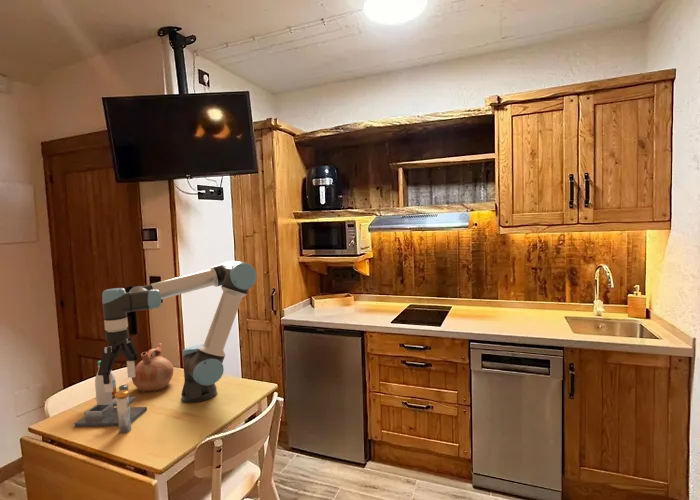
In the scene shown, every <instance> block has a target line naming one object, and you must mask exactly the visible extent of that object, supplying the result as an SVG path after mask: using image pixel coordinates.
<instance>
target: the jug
mask: <svg viewBox="0 0 700 500" xmlns="http://www.w3.org/2000/svg"><path fill="white" fill-rule="evenodd" d="M162 346H163V344H162V342H161V343H160V342H159V343H158V344H157V346H156V347H155V348H150V349H149V350H148V351H144V352H141V354H140V356H141V359H142V360H141V361H139V362H138V363H137V364H136V365H135V375H136V377H131V380H132V383H133V385H134V386H135V388H137V390H139V391H141V392H143V393H145V394H146V393H147V394H148V393H149V394H150V392H151V393H155V392H159V391H160V392H161V391H162V390H165V389H166V388H167V387H168V385H169V384H170V382H171V380H172V379H173V376H174V366H173V364H172V363H171V361H170V360H169V359H167V357H163V355H162V354H163V351H162V350H163V349H162ZM153 354H154V355H153Z"/></svg>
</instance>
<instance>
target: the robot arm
mask: <svg viewBox="0 0 700 500" xmlns="http://www.w3.org/2000/svg"><path fill="white" fill-rule="evenodd" d="M257 278H258V277H257V271H256V269H255V267H254V266H252V264H250V263H248V262H245V261H237V260H229V261H225V262H223V263H220V264H217V265H214V266H210V267H209V268H208V269H206V270H202V271H198V272H195V273H190V274H187V275H183V276H182V275H181V276H179V277H178V276H177V277H173V278H170V279H166V280H161V281H158V282H153V283H150V284H146V285H137V286H134V287H132V288H131V289H130V290H129V291H128V292H127V291H126V289H125V288H124V287H115V288H107V289H105V290H103V291H102V294H101V296H102V299H101V300H102V301H101V302H102V311H103V321H104V331H105V333H104V336H105V342H107V343H108V346H103V347H102V351H101V352H102V354H101V358H100V360H101V362H100V367H98V369H99V371H98V370H97V373H98V375H99V376H101V375H102V376H103V381H104V388H105V392H113V381H112V374H110V373H111V370H112V369H113V366H114V365H115V361H116V359H117V358H118V357H119V355H120V354H122V355H123V356H124V357H125V359H127V360H126V369H127V378H132V377H136V375H135V367H136V364H135V363H136V362H135V361H137V360H138V356H139V354H138V351H137V349H136V347H135V345H134V342H133V337H131V336H129V329H128V328H129V321H128V313H130V312H131V313H132V312H139V311H146V310H148V311H149V310H153V309H157V308H160V307H161V305H162V300H165V299H167V298H171V297H175V296H179V295H182V294H186V293H191V292H193V291H197V290H201V289H204V288H205V289H206V288H209V287H212V286H213V287H216V288H217V287H220V288H221V290H222V293H221V296H220V300H219V302H218V305H217V307H216V310H215V313H214V316H213V319H212V320H211V321H212V322H211V323H210V327H209V329H208V332H207V334H206V335H207V336H206V337H205V340H204V343H203V344H197V345H191V346H188V347H185V348H184V349H183V350H182V362H183V363H182V364H183V377H184V382H183V386H182V389H181V390H182V391H181V395H180V396H181V400H182V401H183V402H185V403H189V404H190V403H193V404H194V403H200V402H204V401H207V400H210V399H212V398H213V397H215V396H216V395H217V392H218V391H217V385H216V383H217V382H219V381H220V380H221V378H222V377H223V374H224V369H225V368H224V364H223V363H224V360H225V357H226V353H225V352H224V349H225V346H226V344H227V340H228V338H229V335H230V332H231V329H232V327H233V324H234V321H235V319H236V316H237V313H238V310H239V307H240V305H241V302H242V299H243V298H244V297H246V296H248V292H249V290H250V289H251V288H252V287H253V286H254V285H255V284H256V282H257ZM112 371H113V370H112Z"/></svg>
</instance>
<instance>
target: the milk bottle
mask: <svg viewBox="0 0 700 500" xmlns="http://www.w3.org/2000/svg"><path fill="white" fill-rule="evenodd" d="M100 362H101V359H100V360H98V361H97V368H98V370H97V372H96V375H95V378H94V379H95V380H94V387H95V398H96V399H95V400H96V404H113V403H115V402H116V401H117V400H116V398H115V393H116V392H117V384H116V383H117V382H116V375H115V372H113V370H111V373H110V374H112V381H113V392H105V388H104V381H103V376H102V375H101V376H99V375H98V371H99V367H100Z"/></svg>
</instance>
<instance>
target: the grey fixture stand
mask: <svg viewBox="0 0 700 500" xmlns="http://www.w3.org/2000/svg"><path fill="white" fill-rule="evenodd" d="M118 390H119V391H121V390H129V384H122V385H119V386H118ZM128 397H129V409H130V421H131V424H133V423H134V422H135V421H136V420H137V419H138V418H140V417H141V416H142V415H143V414H144V413H146V412H147V411H148V407H147V406H131V404H132V403H134V402H135V401H136V400H137V396H130V394H129V395H128ZM73 425H74V428H90V427H91V428H92V427H93V428H95V427H97V428H98V427H102V428H103V427H119V424H118V412H117V401H116V402H115V403H113V404H97V403H96V404H95V405H93V406H92V407H91V408H89V409H87V410H86V411H85V412H84V416H83V417H81V418H79V419H78V420H77V421H76V422H74V423H73Z"/></svg>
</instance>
